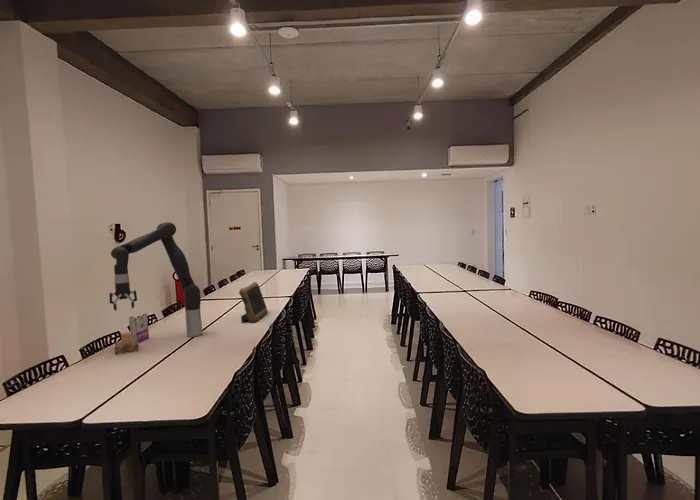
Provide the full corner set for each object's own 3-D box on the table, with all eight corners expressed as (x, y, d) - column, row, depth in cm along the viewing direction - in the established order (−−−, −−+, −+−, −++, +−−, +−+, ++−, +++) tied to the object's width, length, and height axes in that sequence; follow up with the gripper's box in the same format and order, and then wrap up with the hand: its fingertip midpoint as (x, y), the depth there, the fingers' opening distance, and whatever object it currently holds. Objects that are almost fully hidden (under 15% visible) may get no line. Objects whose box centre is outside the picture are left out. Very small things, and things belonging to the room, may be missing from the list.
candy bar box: (142, 338, 288) (140, 312, 287) (149, 338, 287) (147, 313, 286) (130, 343, 277) (128, 316, 276) (137, 343, 276) (135, 317, 275)
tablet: (259, 323, 318) (257, 288, 316) (239, 323, 318) (237, 288, 316) (268, 313, 350) (266, 281, 348) (250, 313, 350) (248, 282, 348)
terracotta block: (131, 341, 265) (130, 331, 264) (131, 343, 260) (130, 333, 260) (122, 343, 263) (121, 332, 262) (121, 345, 258) (120, 334, 258)
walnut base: (138, 345, 270) (137, 339, 269) (138, 351, 259) (138, 344, 259) (116, 349, 265) (115, 342, 264) (115, 354, 254) (114, 347, 253)
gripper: (135, 279, 265) (137, 306, 267) (108, 282, 259) (110, 309, 261) (135, 281, 259) (137, 308, 260) (107, 283, 253) (110, 312, 254)
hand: (124, 309), depth 260 cm, fingers open, 8 cm apart
